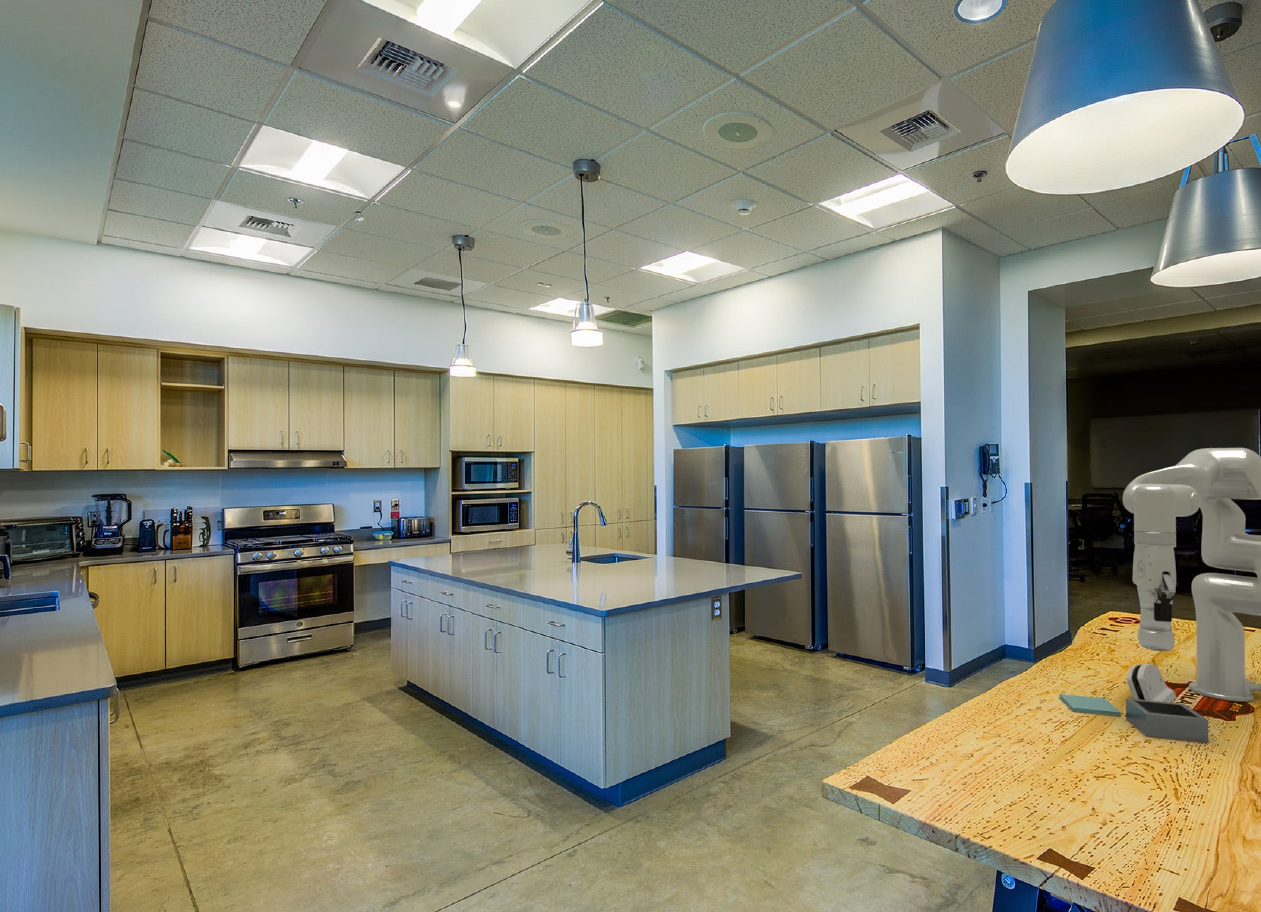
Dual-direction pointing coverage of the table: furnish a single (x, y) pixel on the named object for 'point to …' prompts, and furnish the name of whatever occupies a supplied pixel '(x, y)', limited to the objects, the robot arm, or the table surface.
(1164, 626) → the plastic bottle
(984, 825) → the table surface
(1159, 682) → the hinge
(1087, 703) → the board
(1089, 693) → the table surface
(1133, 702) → the square socket
